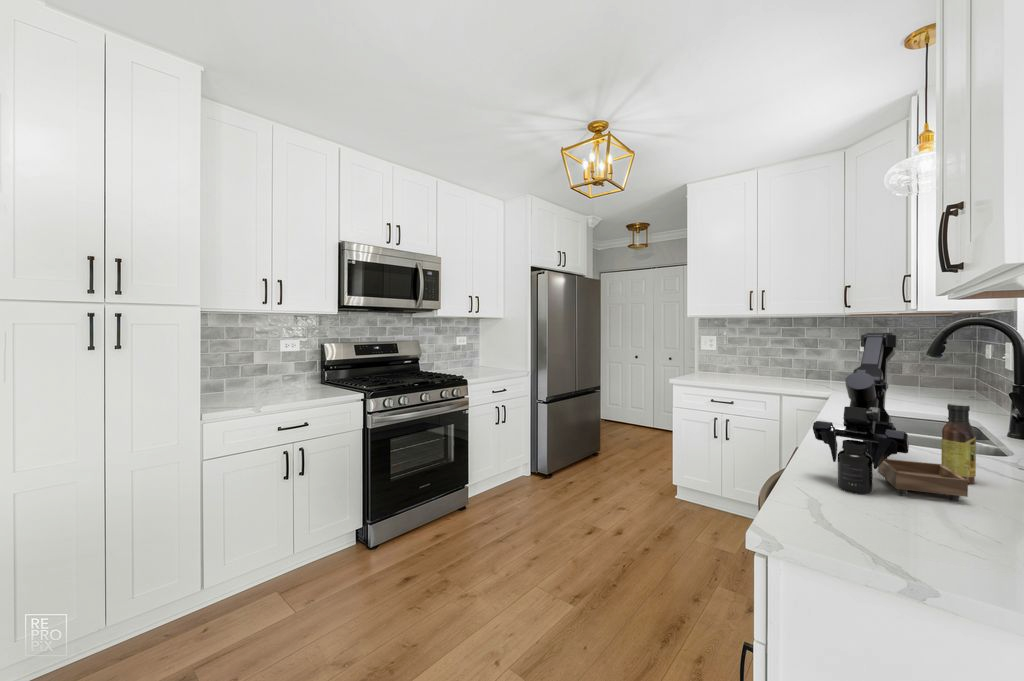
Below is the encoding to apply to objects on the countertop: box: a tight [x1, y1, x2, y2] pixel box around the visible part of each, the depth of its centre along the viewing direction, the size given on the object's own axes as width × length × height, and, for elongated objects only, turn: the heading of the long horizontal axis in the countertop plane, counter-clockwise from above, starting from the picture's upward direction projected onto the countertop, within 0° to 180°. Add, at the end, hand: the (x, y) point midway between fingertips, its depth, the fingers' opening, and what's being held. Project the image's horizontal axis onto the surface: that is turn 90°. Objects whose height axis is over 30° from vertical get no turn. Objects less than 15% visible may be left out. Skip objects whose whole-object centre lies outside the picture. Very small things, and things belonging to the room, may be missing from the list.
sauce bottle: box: [941, 402, 977, 484], centre depth 113 cm, size 6×6×20 cm
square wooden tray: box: [877, 458, 969, 502], centre depth 106 cm, size 13×13×6 cm
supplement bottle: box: [837, 439, 873, 495], centre depth 108 cm, size 7×7×12 cm
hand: (853, 464), depth 107 cm, fingers open, 8 cm apart
